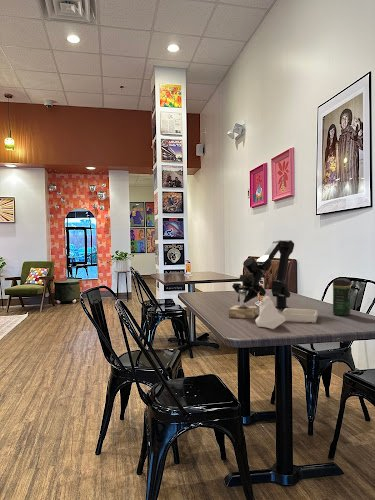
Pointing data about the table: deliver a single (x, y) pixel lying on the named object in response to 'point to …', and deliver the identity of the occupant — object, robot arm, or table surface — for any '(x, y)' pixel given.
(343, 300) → the coffee jar
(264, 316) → the white tetrapod block
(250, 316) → the block
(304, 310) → the tray
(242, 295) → the steel pin
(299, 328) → the table surface
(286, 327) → the table surface
